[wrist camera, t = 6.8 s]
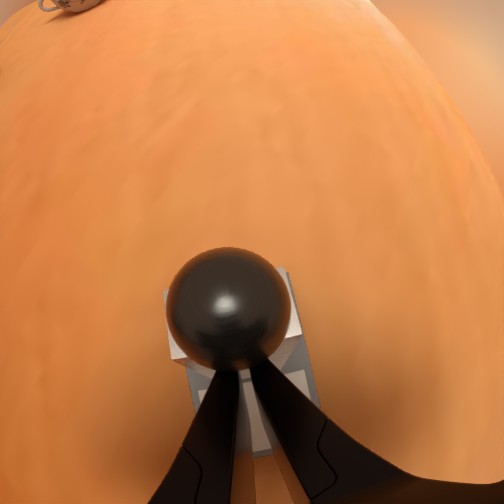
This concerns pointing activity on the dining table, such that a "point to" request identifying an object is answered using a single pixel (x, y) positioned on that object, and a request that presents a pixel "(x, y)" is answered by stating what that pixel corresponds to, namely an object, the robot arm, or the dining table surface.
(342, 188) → the dining table surface
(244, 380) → the switch box
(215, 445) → the robot arm
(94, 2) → the teacup
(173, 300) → the toggle lever
